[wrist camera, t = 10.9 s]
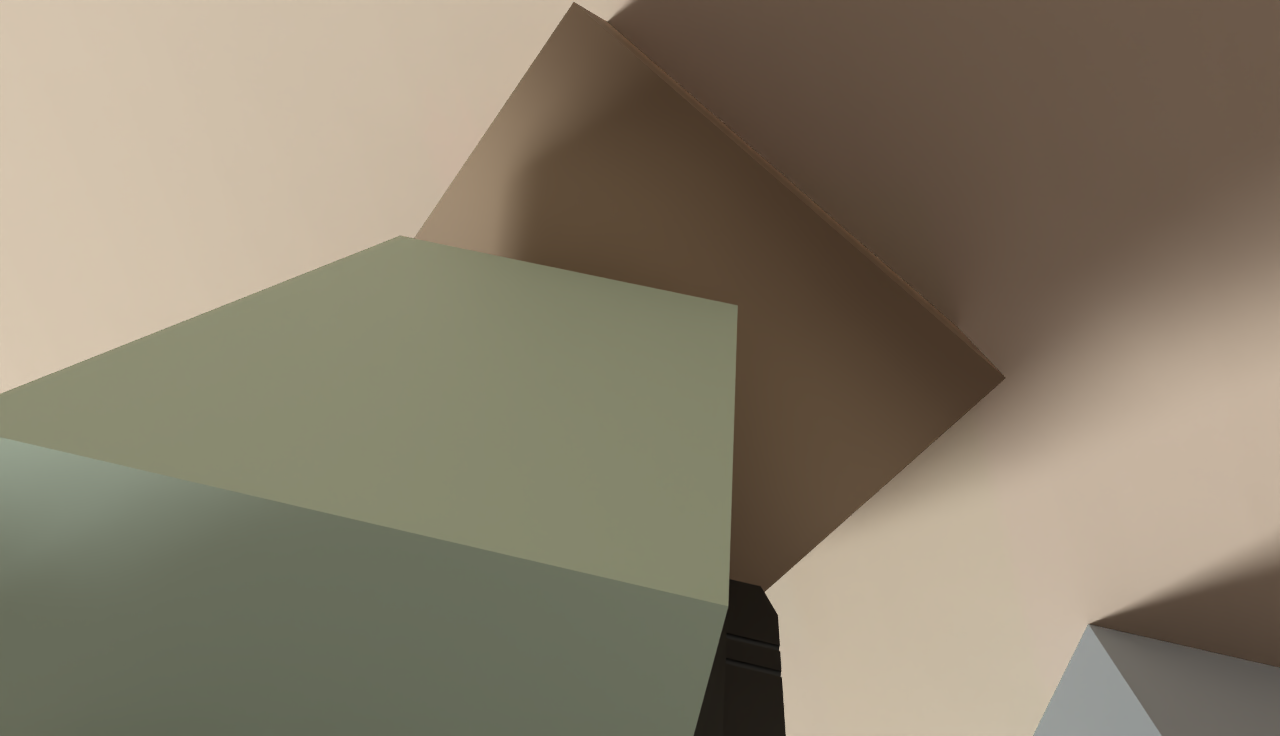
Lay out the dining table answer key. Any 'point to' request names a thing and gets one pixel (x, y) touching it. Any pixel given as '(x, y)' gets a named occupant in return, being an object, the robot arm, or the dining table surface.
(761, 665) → the robot arm
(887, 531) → the dining table surface
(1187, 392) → the dining table surface
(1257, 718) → the slate brick
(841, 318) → the walnut brick
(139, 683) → the sage brick
